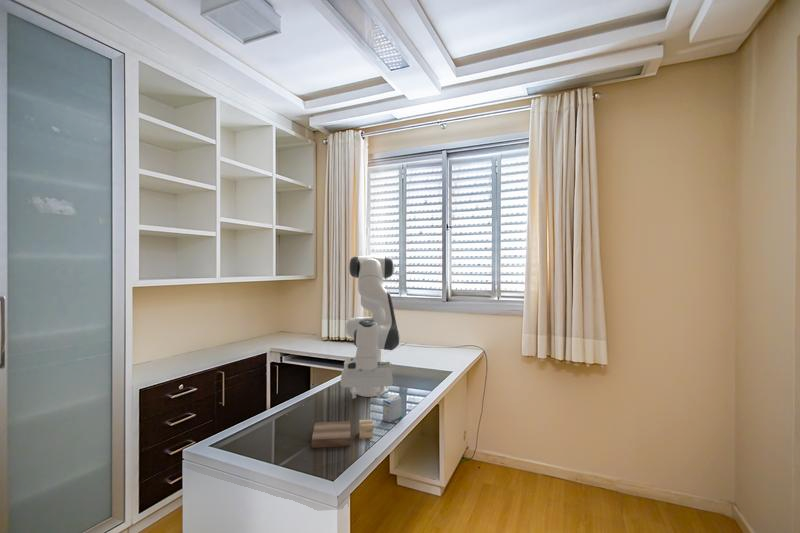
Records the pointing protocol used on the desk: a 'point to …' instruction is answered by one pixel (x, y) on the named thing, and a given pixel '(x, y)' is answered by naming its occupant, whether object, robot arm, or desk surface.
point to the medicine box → (392, 408)
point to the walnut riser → (331, 434)
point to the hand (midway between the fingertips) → (366, 397)
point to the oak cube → (365, 429)
